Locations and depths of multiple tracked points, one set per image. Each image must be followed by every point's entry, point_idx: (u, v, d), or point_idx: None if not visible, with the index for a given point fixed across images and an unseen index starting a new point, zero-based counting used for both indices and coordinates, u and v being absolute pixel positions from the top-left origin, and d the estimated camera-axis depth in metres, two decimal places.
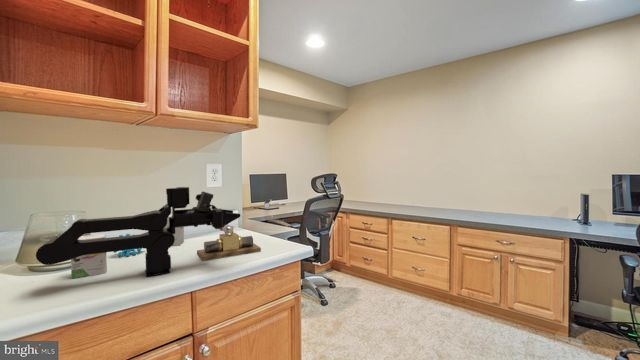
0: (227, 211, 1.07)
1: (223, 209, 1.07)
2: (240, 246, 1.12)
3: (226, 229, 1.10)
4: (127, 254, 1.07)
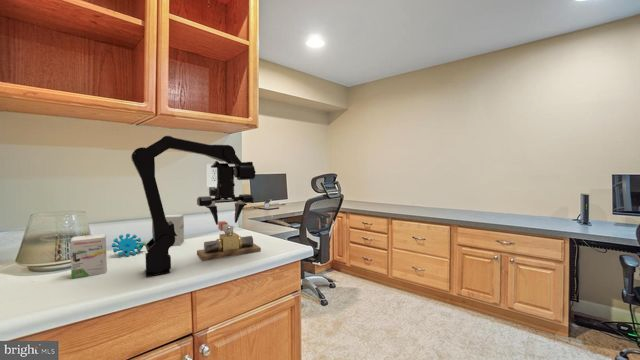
0: None
1: (213, 215, 1.02)
2: (240, 246, 1.12)
3: (226, 229, 1.10)
4: (127, 254, 1.07)
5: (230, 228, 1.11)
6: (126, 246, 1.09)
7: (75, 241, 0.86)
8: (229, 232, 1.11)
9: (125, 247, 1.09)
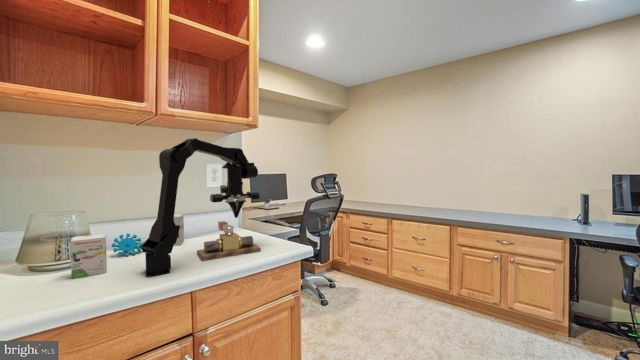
0: None
1: None
2: (240, 246, 1.12)
3: (226, 229, 1.10)
4: (127, 254, 1.08)
5: (230, 228, 1.11)
6: (126, 246, 1.09)
7: (75, 241, 0.86)
8: (229, 232, 1.11)
9: (125, 247, 1.09)
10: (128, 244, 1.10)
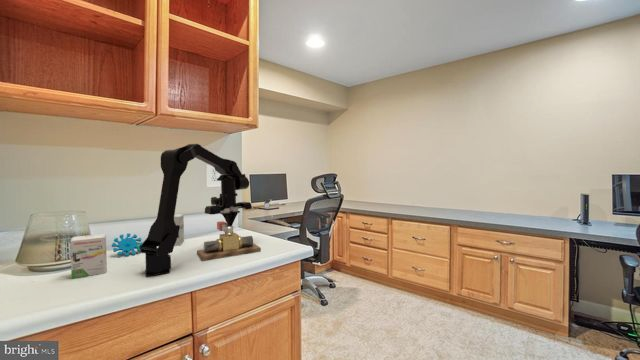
0: None
1: (226, 220, 1.21)
2: (240, 246, 1.12)
3: (226, 229, 1.10)
4: (127, 254, 1.08)
5: (230, 228, 1.11)
6: (126, 246, 1.10)
7: (75, 241, 0.86)
8: (229, 232, 1.11)
9: (125, 247, 1.09)
10: (128, 244, 1.10)
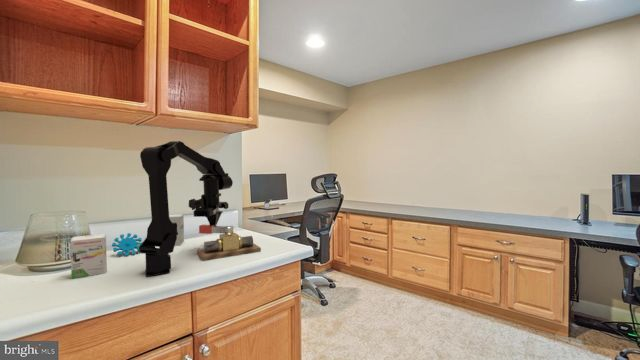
0: None
1: (209, 222, 1.15)
2: (240, 246, 1.12)
3: (229, 229, 1.11)
4: (126, 253, 1.08)
5: (232, 227, 1.12)
6: (126, 246, 1.10)
7: (75, 241, 0.86)
8: (232, 231, 1.11)
9: (125, 247, 1.09)
10: (128, 244, 1.10)
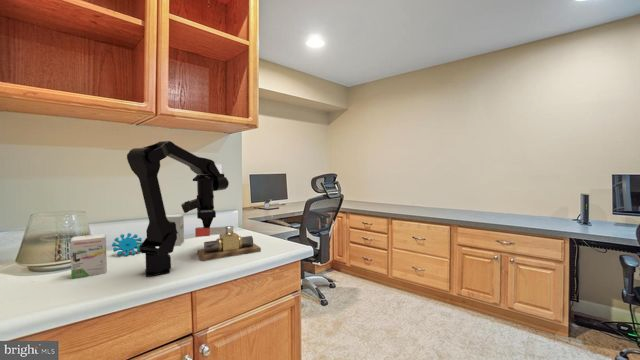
0: None
1: (203, 224, 1.10)
2: (240, 246, 1.12)
3: (231, 229, 1.11)
4: (126, 253, 1.08)
5: None
6: (126, 245, 1.10)
7: (75, 241, 0.86)
8: None
9: (125, 247, 1.09)
10: (128, 244, 1.10)
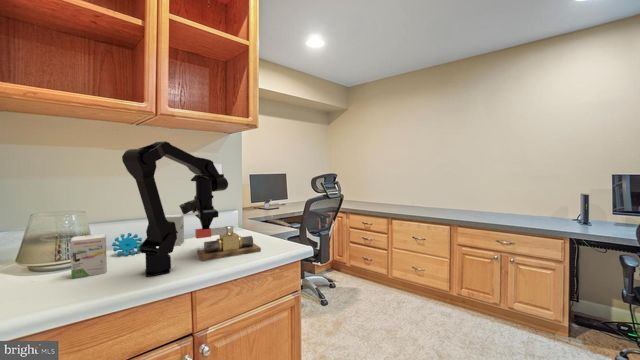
0: None
1: (202, 225, 1.08)
2: (240, 246, 1.12)
3: (232, 228, 1.11)
4: (126, 253, 1.08)
5: None
6: (126, 245, 1.10)
7: (75, 241, 0.86)
8: None
9: (125, 247, 1.10)
10: (128, 244, 1.10)
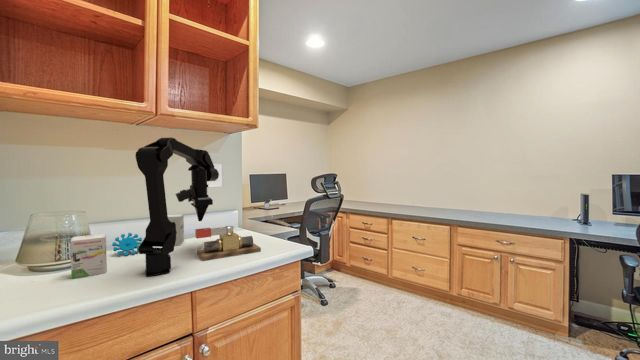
0: None
1: (197, 213, 1.13)
2: (240, 246, 1.12)
3: (232, 228, 1.11)
4: (126, 253, 1.08)
5: None
6: (126, 245, 1.10)
7: (75, 241, 0.86)
8: None
9: (125, 246, 1.10)
10: (128, 243, 1.11)
